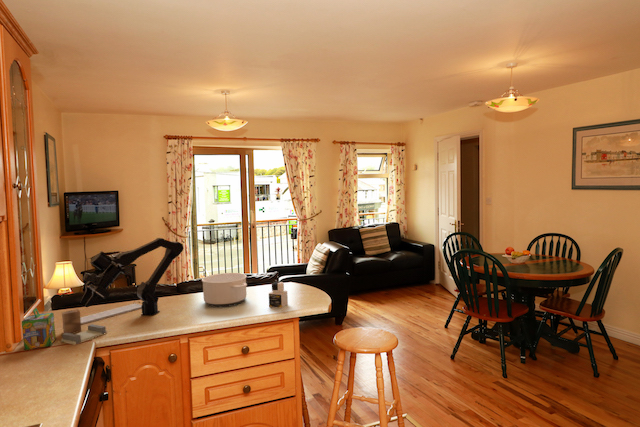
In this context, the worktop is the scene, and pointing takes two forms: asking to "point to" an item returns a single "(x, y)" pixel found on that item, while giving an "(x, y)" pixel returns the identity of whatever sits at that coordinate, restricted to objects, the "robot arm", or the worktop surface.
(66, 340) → the holder
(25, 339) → the chalk box
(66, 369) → the worktop surface
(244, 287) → the pot
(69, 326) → the brown block
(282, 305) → the medicine bottle
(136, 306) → the baseboard
